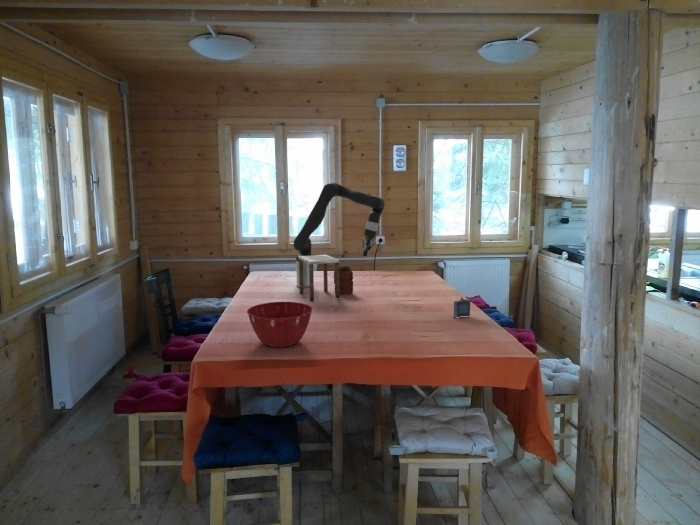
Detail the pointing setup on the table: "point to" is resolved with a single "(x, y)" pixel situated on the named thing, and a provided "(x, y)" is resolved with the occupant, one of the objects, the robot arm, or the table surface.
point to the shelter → (324, 259)
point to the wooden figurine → (345, 280)
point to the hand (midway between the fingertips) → (364, 256)
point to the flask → (462, 307)
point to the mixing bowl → (280, 322)
